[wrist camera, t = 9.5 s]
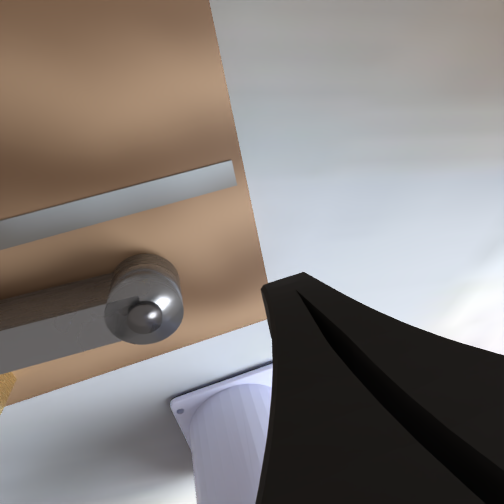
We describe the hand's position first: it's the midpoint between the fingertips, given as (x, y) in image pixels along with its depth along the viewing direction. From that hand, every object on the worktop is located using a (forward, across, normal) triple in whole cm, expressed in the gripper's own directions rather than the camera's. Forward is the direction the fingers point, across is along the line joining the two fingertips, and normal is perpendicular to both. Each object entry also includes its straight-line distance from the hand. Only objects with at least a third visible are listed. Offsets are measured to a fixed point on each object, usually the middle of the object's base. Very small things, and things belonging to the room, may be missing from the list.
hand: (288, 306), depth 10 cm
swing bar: (+7, +11, +2) cm, 14 cm away
